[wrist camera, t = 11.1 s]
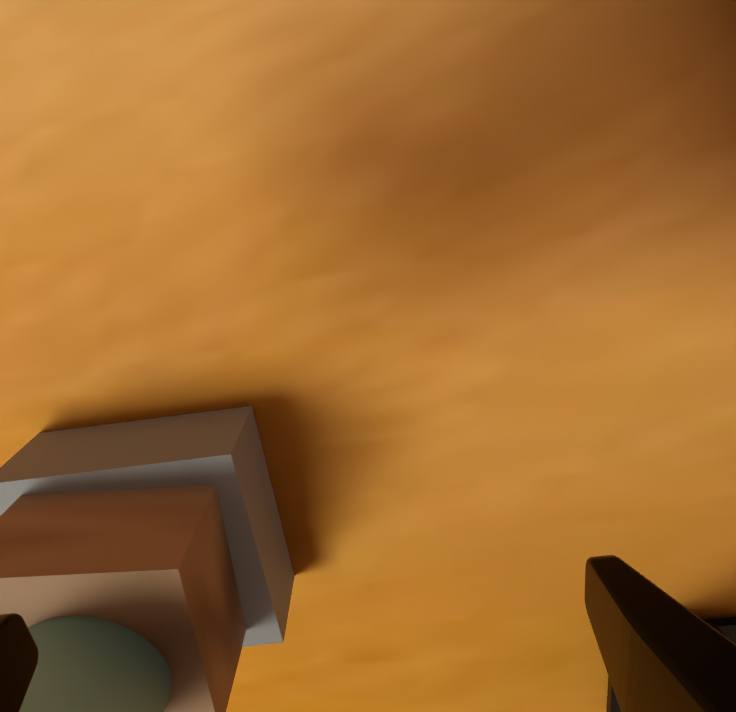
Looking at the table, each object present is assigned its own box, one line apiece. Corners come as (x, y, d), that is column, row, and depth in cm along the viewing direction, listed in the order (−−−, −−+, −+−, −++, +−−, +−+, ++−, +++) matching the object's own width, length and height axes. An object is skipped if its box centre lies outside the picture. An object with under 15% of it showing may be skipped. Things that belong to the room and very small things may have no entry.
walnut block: (246, 630, 21) (220, 733, 18) (74, 638, 22) (13, 741, 18) (215, 484, 19) (178, 569, 15) (20, 494, 19) (-64, 581, 15)
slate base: (295, 568, 25) (283, 642, 22) (112, 589, 26) (70, 664, 22) (253, 401, 22) (230, 454, 18) (44, 427, 23) (-19, 485, 19)
